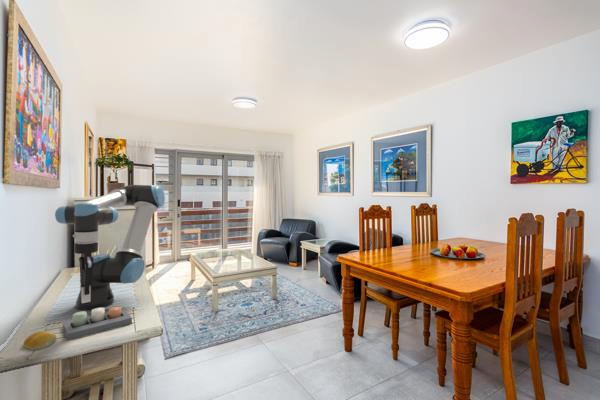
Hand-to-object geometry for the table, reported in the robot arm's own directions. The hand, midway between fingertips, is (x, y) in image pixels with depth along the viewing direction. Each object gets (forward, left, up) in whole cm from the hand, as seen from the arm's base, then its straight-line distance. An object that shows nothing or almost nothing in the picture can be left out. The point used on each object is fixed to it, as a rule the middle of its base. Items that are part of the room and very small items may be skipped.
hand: (86, 302), depth 117 cm
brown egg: (0, +10, -9) cm, 14 cm away
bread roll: (+3, -14, -11) cm, 18 cm away
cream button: (0, +4, -8) cm, 9 cm away
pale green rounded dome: (0, -2, -8) cm, 8 cm away
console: (0, +4, -11) cm, 11 cm away
